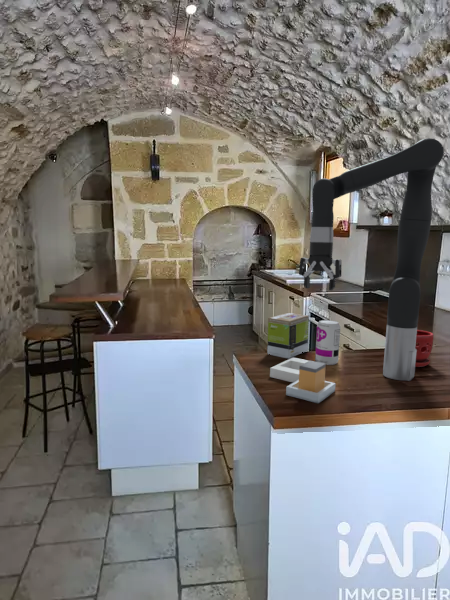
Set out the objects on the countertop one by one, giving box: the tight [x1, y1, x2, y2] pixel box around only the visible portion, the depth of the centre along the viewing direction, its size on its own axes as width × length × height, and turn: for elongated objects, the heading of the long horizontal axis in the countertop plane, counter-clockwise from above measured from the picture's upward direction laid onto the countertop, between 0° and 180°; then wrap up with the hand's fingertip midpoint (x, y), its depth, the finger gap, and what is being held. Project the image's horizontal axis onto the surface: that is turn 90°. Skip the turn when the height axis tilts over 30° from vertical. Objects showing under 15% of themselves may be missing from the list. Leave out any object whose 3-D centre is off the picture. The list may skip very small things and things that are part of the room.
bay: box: [269, 356, 309, 383], centre depth 143 cm, size 11×16×3 cm
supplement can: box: [314, 319, 341, 366], centre depth 157 cm, size 8×8×15 cm
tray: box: [285, 380, 336, 404], centre depth 126 cm, size 10×12×2 cm
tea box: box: [266, 312, 310, 360], centre depth 168 cm, size 15×10×15 cm, turn 141°
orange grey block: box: [298, 360, 327, 393], centre depth 126 cm, size 5×7×8 cm
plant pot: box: [415, 329, 434, 368], centre depth 158 cm, size 13×13×12 cm
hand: (318, 289), depth 147 cm, fingers open, 8 cm apart
